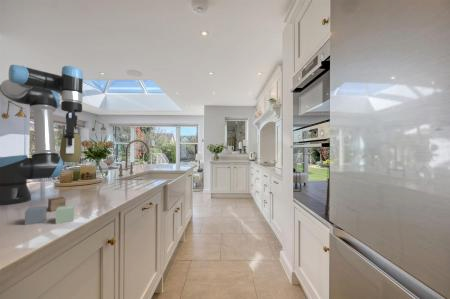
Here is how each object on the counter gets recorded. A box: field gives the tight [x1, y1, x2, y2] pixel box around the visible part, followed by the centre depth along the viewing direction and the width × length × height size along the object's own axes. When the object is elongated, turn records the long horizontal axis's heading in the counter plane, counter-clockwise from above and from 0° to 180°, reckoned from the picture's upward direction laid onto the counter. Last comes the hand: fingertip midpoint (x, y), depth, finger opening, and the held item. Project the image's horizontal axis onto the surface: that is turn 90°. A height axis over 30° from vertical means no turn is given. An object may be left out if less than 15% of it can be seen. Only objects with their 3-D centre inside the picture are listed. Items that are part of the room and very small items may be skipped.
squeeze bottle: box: [58, 127, 83, 163], centre depth 92 cm, size 8×8×18 cm
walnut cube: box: [47, 196, 66, 213], centre depth 92 cm, size 5×5×5 cm
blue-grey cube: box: [24, 205, 47, 226], centre depth 76 cm, size 5×5×5 cm
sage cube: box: [55, 204, 75, 225], centre depth 78 cm, size 5×5×5 cm
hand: (71, 153), depth 92 cm, fingers closed on squeeze bottle, 8 cm apart
